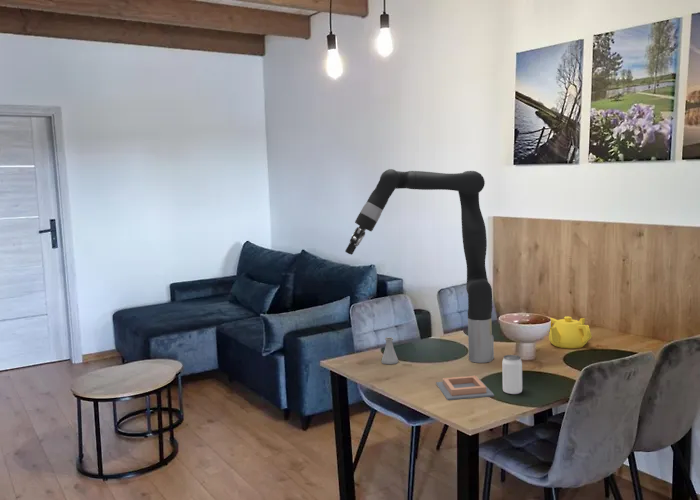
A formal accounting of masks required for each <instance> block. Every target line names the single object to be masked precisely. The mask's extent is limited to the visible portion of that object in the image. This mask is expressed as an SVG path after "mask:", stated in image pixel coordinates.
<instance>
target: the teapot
mask: <svg viewBox="0 0 700 500" xmlns="http://www.w3.org/2000/svg"><path fill="white" fill-rule="evenodd" d="M549 318H550V319H551V328H550V332H549V333H548V340H549V342H550V343H551V345H553V346H555V347H556V348H560V349H561V348H562V349H573V350H574V349H580V348H583V347H584V346H585V345H586V344H587V343H588V341H590V340H591V338H593V337H592V336H593V335H592V333H591V329H590V326H589V325H588V324H585V323H586V318H584V317H581V318H579V320H578V319H573V318H572V316H568V315H567V316H566V315H565V316H564V317H563V318H562V319H561V318H560V319H556V318H553V317H549Z"/></svg>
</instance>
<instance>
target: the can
mask: <svg viewBox="0 0 700 500" xmlns="http://www.w3.org/2000/svg"><path fill="white" fill-rule="evenodd" d="M501 363H502V373H501V374H502V376H501V377H502V391H503V392H504V393H505V394H508V395H519V394H521V393H522V392H523V361H522V359H521V356H519V355H516V354H507V355H504V356H503V358H502V362H501Z"/></svg>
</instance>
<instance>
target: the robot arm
mask: <svg viewBox="0 0 700 500" xmlns="http://www.w3.org/2000/svg"><path fill="white" fill-rule="evenodd" d="M485 182H486V181H485V178H484V177H483V175H482V174H481V173H480V172H478V171H477V170H476V171H475V170H466V171H465V170H464V171H463V172H459V173H457V172H456V173H444V172H434V171H423V170H422V171H421V170H409V171H398V170H395V169H394V168H393V169H392V168H388V169H386V170H385V171H383V172H382V173H381V175H380V177H379V181H378V183H377V184H376V187H375V189H373V190H372V192H371V193H370V195H369V197H368V199H367V200H366V202H365V204H364V205H363V206H362V207H361V209H360V212H359V214H358V215H357V217H356V219H355V221H354V223H355V224H356V225H358V227H356V228H355V230H354V231H353V234H352V235H351V238H350V239H349V243H348V245H347V247H346V249H345V253H347V255H353V254H354V252H355V251H356V248H357V247H358V246H359V245H360V243H362V241H363V239H364V237H365V236H366V231H369V232H372V231H374V229H375V226H376V225H377V223H378V221H379V219H380V218H381V215H382V213H383V211H384V208H385V207H386V206H387V204H388V201H389V199H390V197H391V196H392V195H393V193H394V191H395V190H397V189H398V190H400V189H408V190H422V191H423V190H424V191H425V190H426V191H428V190H429V191H433V190H436V191H437V190H439V191H440V190H442V191H443V190H444V191H445V190H446V191H454V192H458V196H459V203H460V210H461V212H460V213H461V216H460V217H461V236H462V244H463V245H462V246H463V252H464V258H465V262H466V292H467V304H468V305H467V307H468V309H467V335H468V337H467V338H468V339H467V340H468V342H467V343H468V344H467V345H468V360H469V361H470V362H471V363H472V362H473V363H480V364H485V363H490V362H492V361H493V359H495V358H494V357H495V351H494V349H495V347H494V346H495V345H494V343H495V341H494V340H495V339H494V335H493V333H492V328H493V327H492V326H493V325H492V324H493V323H492V315H493V314H492V313H493V288H492V286H491V284H490V283H489V279H488V276H487V275H488V274H487V269H486V257H487V248H488V245H487V243H488V240H487V230H486V229H487V228H486V223H485V219H484V217H483V214H482V210H481V208H480V207H481V206H480V192H482V190H483V189H484V187H485V184H486V183H485Z"/></svg>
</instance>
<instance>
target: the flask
mask: <svg viewBox="0 0 700 500" xmlns="http://www.w3.org/2000/svg"><path fill="white" fill-rule="evenodd" d="M393 340H394V338H393V336H392V337H391V336H388V337H387V336H386V337H385V348H384V351H383V355H382V358H381V360H380V361H381V363H382V364H383V365H396V364H398V363H399V362H400V361H399V359H398V356H397V354H396V351H395V348H394V344H393Z"/></svg>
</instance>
